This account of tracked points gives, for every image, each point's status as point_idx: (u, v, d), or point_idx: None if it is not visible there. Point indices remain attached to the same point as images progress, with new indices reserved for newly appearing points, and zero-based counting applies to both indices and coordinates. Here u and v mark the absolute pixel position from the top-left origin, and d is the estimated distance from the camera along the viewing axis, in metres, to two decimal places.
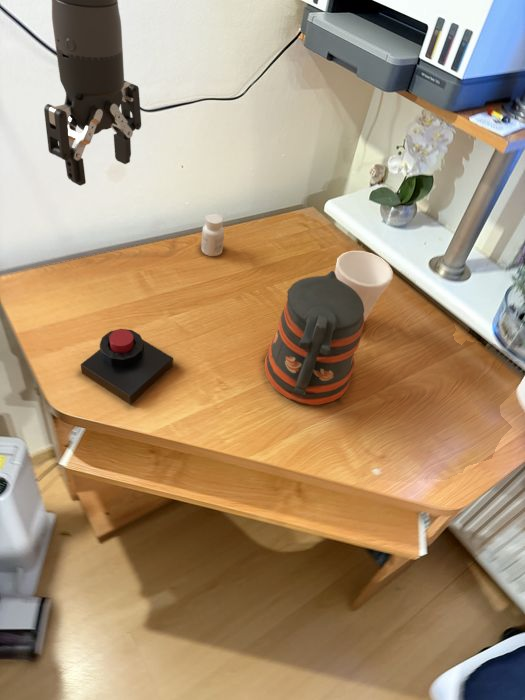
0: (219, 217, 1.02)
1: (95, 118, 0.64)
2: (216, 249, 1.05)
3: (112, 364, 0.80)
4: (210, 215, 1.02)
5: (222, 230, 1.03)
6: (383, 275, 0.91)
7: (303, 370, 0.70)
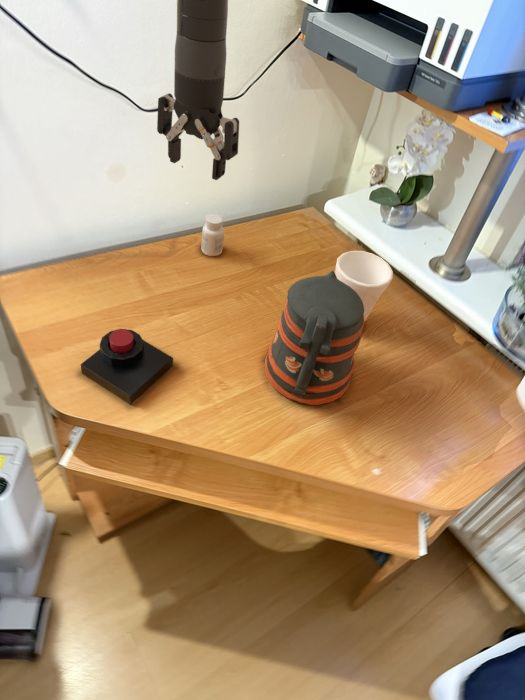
0: (219, 217, 1.02)
1: (181, 119, 0.82)
2: (216, 249, 1.05)
3: (112, 364, 0.80)
4: (210, 215, 1.02)
5: (222, 230, 1.03)
6: (383, 275, 0.91)
7: (303, 370, 0.70)
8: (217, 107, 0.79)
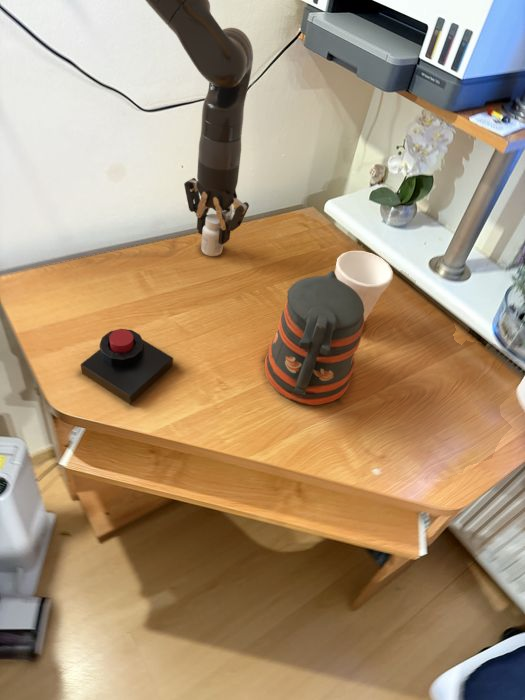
0: None
1: (202, 196, 0.98)
2: (216, 249, 1.05)
3: (112, 364, 0.80)
4: (210, 215, 1.02)
5: None
6: (383, 275, 0.91)
7: (303, 370, 0.70)
8: (232, 189, 0.95)
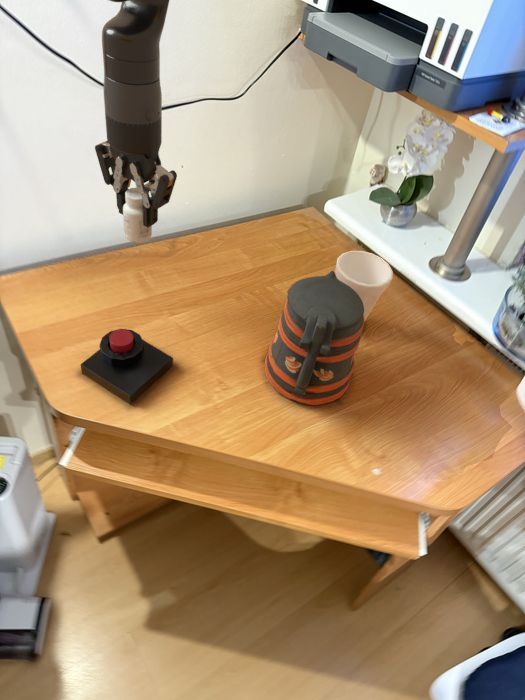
0: None
1: (117, 163, 0.75)
2: (142, 233, 0.82)
3: (112, 364, 0.80)
4: (132, 189, 0.80)
5: None
6: (383, 275, 0.91)
7: (303, 370, 0.70)
8: (152, 152, 0.72)
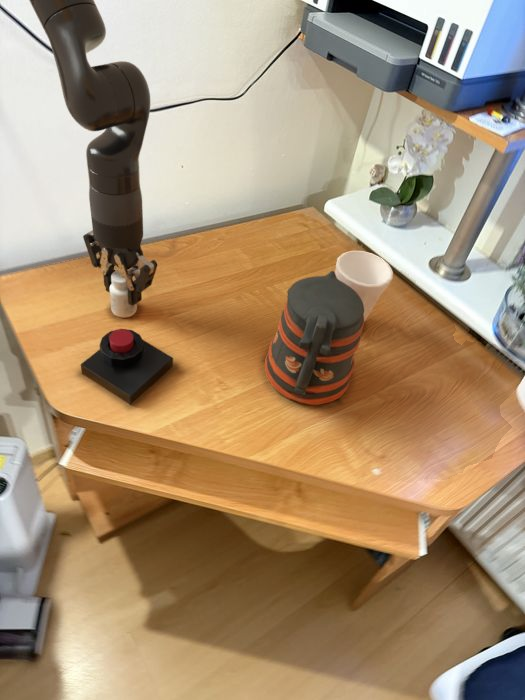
0: None
1: (103, 253, 0.82)
2: (127, 310, 0.89)
3: (112, 364, 0.80)
4: (117, 271, 0.87)
5: None
6: (383, 275, 0.91)
7: (303, 370, 0.70)
8: (134, 246, 0.79)
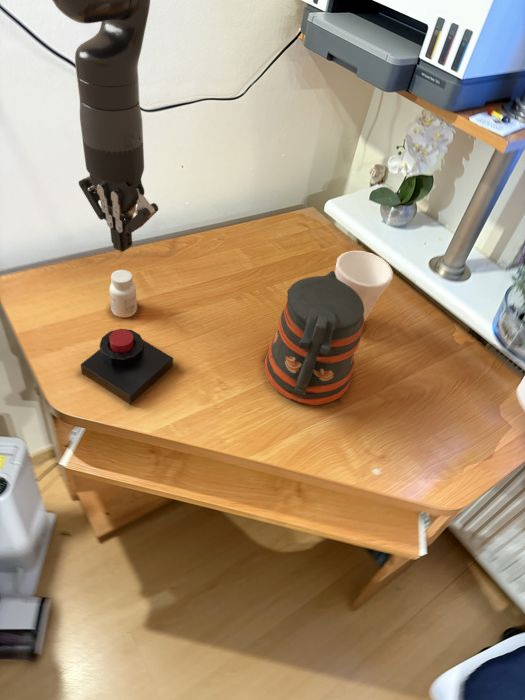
0: (128, 274, 0.87)
1: (99, 193, 0.71)
2: (127, 310, 0.89)
3: (112, 364, 0.80)
4: (117, 271, 0.87)
5: (132, 289, 0.88)
6: (383, 275, 0.91)
7: (303, 370, 0.70)
8: (134, 179, 0.68)
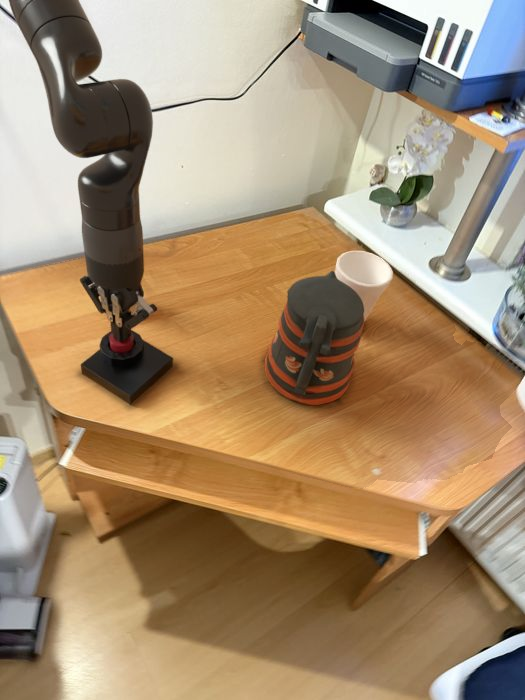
0: None
1: (100, 293, 0.72)
2: None
3: (112, 364, 0.80)
4: None
5: None
6: (383, 275, 0.91)
7: (303, 370, 0.70)
8: (134, 285, 0.69)
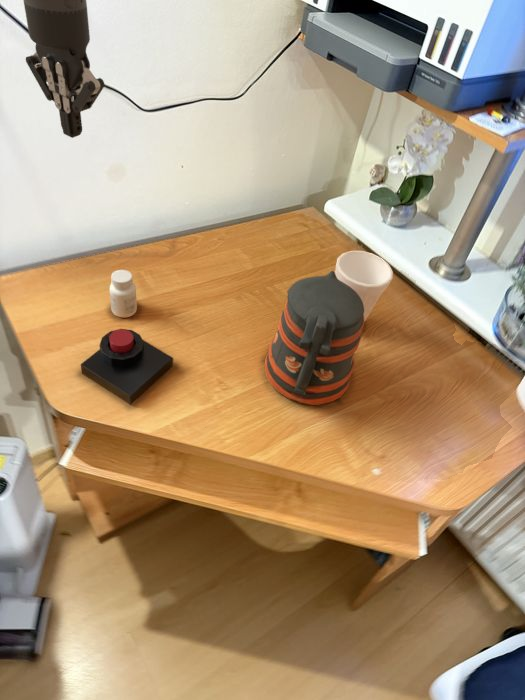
0: (128, 274, 0.87)
1: (44, 66, 0.70)
2: (127, 310, 0.89)
3: (112, 364, 0.80)
4: (117, 271, 0.87)
5: (132, 289, 0.88)
6: (383, 275, 0.91)
7: (303, 370, 0.70)
8: (78, 48, 0.67)
